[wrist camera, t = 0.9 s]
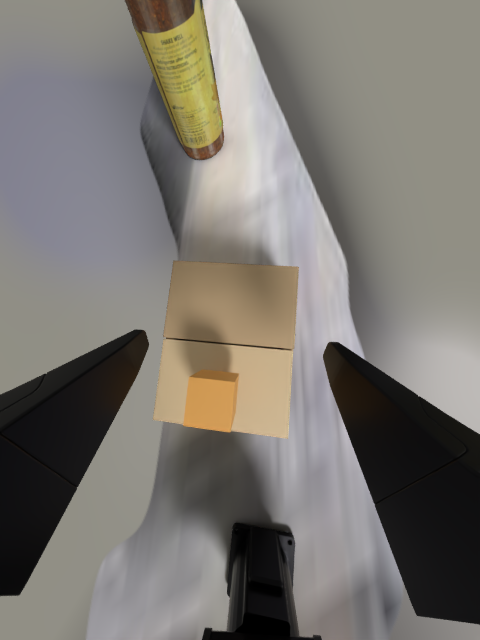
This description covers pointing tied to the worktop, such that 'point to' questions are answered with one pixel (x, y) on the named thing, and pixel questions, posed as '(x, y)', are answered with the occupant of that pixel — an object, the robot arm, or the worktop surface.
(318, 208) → the worktop surface
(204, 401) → the pull drawer
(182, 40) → the sauce bottle
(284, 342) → the carton
